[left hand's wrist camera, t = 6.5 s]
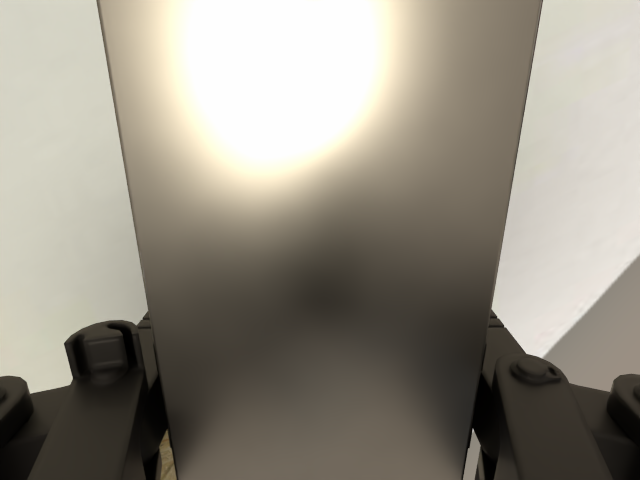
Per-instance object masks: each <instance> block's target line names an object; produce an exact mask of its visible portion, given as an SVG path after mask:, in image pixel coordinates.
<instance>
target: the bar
mask: <svg viewBox="0 0 640 480" xmlns="http://www.w3.org/2000/svg"><path fill="white" fill-rule="evenodd" d="M542 3H543V0H97V6H98V12H99V18H100V24H101V30H102V36H103V42H104V48H105V54H106V60H107V66H108V72H109V78H110V84H111V90H112V96H113V102H114V108H115V114H116V120H117V126H118V132H119V138H120V143H121V149H122V155H123V161H124V167H125V173H126V179H127V185H128V191H129V197H130V203H131V209H132V215H133V221H134V227H135V233H136V239H137V245H138V251H139V257H140V263H141V269H142V275H143V281H144V287H145V293H146V299H147V305H148V311H149V317H150V323H151V329H152V335H153V341H154V347H155V353H156V359H157V365H158V371H159V377H160V382H161V388H162V394H163V400H164V406H165V412H166V418H167V424H168V430H169V436H170V442H171V448H172V454H173V460H174V466H175V472H176V478H177V480H463V475H464V469H465V463H466V457H467V451H468V445H469V439H470V433H471V427H472V421H473V415H474V409H475V403H476V397H477V391H478V385H479V379H480V373H481V367H482V361H483V355H484V349H485V344H486V338H487V332H488V326H489V320H490V314H491V308H492V302H493V296H494V290H495V284H496V278H497V272H498V266H499V260H500V254H501V248H502V242H503V236H504V230H505V224H506V218H507V212H508V206H509V200H510V194H511V188H512V182H513V176H514V170H515V164H516V158H517V152H518V146H519V140H520V134H521V128H522V122H523V116H524V110H525V104H526V98H527V92H528V86H529V80H530V74H531V68H532V62H533V56H534V50H535V44H536V38H537V32H538V26H539V20H540V14H541V9H542Z"/></svg>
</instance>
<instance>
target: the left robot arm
mask: <svg viewBox="0 0 640 480" xmlns="http://www.w3.org/2000/svg"><path fill="white" fill-rule="evenodd" d="M64 345H65V349H66V353H67V357H68V361H69V365H70V368H71V372H72V376H73V380H72V382H71V385H69V386H65V387H61V388H56V389H51V390H46V391H42V392H37V393H32V394H30V392H29V389H28V386H27V382H26V381H24V380H23V379H22V378H21V377H15V376H3V377H0V480H160V478H161V470H162V459H161V453H160V447H159V446H160V444H161V442H162V440H163V437H164V435H165V433H166V431H168V437H169V443H170V448H171V442H170V436H169V430H168V424H167V418H166V412H165V406H164V400H163V394H162V388H161V382H160V377H159V371H158V365H157V359H156V353H155V347H154V341H153V335H152V329H151V323H150V317H149V311H148V312H147V313H146V314H145V316H144V317H143V320H141V321H140V322H139V323H138V325H137V326H136V325H135V324H133V323H132V322H128V321H123V320H113V321H105V322H100V323H96V324H93V325H90V326H88V327H85V328H83V329H81V330H79V331H78V332H76V333H74V334H73V335H71V336H70V337H69V338H68V339H67V341H66V342H65V343H64ZM472 429H474V431H475V434H476V436H477V438H478V440H479V442H480V445H481V447H480V453H479V458H478V464H477V469H476V475H475V480H640V375H636V374H626V375H620V376H619V377H617V378H616V379H615V380H614V381H613V385H612V388H611V391H610V392H607V391H602V390H597V389H592V388H588V387H583V386H578V385H574V384H571V383H569V382H568V380H567V378H566V376H565V375H564V374H563V373H562V371H561V370H560V369H559V368H557V367H556V366H554V365H553V364H552V363H550V362H548V361H546V360H544V359H541V358H539V357H537V356H533V355H529V354H526V353H525V351H524V350H523V349H522V348H521V346H520V345H519V344H518V343H517V341H516V340H515V339H514V337H513V336H512V335H511V334H510V332H509V331H508V330H507V328H504V325H503V323H502V322H501V321H500V320H499V319H497V316H496V314H495V313H494V312H493V311H492V309H491V314H490V320H489V326H488V332H487V338H486V344H485V349H484V355H483V361H482V367H481V373H480V379H479V385H478V391H477V397H476V403H475V409H474V415H473V421H472V427H471V433H470V439H469V445H468V448H469V447H470V441H471V435H472Z"/></svg>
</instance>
